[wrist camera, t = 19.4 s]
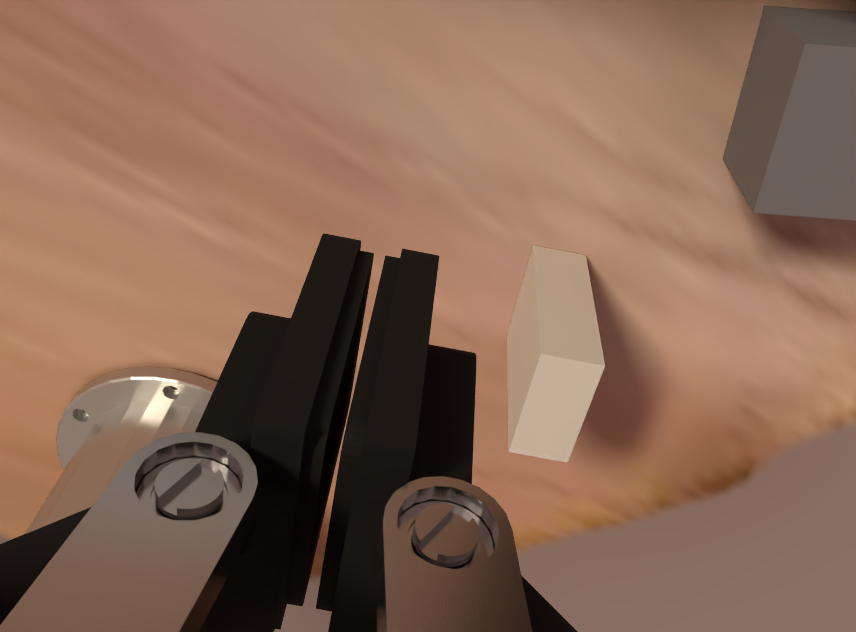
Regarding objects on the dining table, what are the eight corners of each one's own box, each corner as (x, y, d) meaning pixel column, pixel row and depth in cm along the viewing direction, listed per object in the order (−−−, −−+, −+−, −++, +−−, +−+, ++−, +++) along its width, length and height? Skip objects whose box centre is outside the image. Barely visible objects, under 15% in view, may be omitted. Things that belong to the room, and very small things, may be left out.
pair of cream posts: (562, 344, 39) (574, 463, 32) (500, 333, 39) (501, 450, 32) (806, -366, 24) (923, -414, 17) (707, -389, 24) (787, -447, 17)
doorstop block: (895, 169, 33) (951, 227, 29) (721, 157, 33) (753, 212, 29) (956, 18, 30) (1030, 59, 25) (763, 4, 30) (805, 43, 26)
